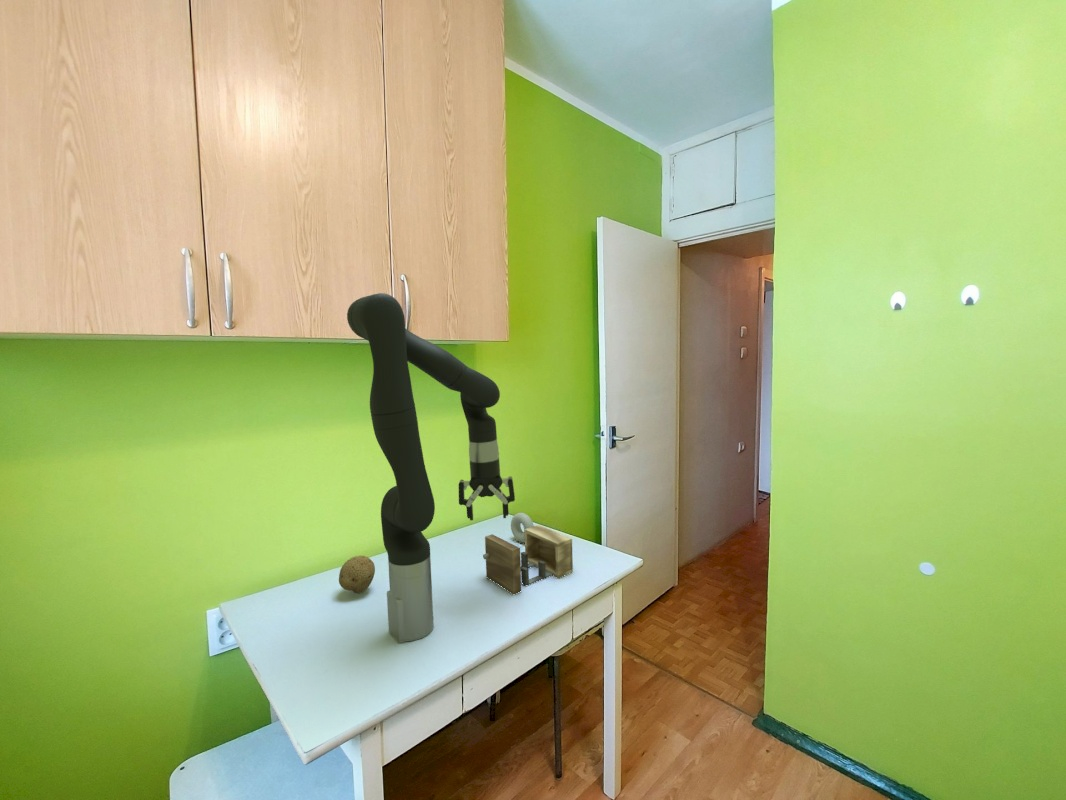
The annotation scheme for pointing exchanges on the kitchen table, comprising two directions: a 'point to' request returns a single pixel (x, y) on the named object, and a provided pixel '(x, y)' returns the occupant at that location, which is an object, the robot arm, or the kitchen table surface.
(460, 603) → the kitchen table surface
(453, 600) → the kitchen table surface
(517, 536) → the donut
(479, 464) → the robot arm
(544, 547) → the cabinet
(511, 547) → the door
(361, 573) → the brown potato
